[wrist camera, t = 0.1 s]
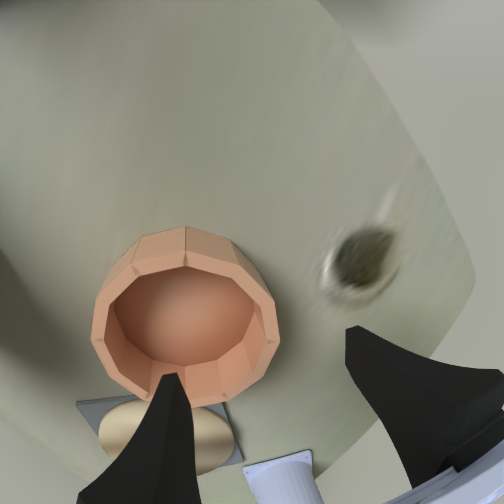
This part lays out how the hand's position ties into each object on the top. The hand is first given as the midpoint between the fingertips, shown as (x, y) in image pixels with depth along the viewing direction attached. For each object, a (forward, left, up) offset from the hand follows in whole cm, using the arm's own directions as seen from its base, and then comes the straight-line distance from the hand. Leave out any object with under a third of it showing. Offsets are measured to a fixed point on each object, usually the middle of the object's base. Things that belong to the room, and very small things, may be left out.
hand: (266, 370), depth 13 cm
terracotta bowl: (-2, +4, -10) cm, 11 cm away
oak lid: (-16, +10, -10) cm, 21 cm away
